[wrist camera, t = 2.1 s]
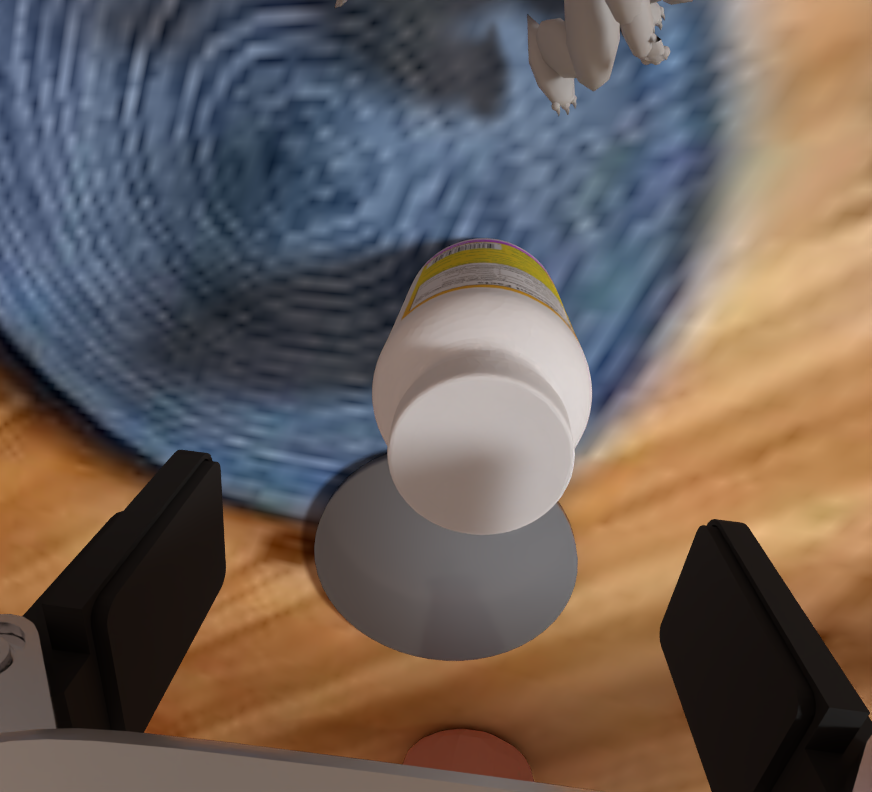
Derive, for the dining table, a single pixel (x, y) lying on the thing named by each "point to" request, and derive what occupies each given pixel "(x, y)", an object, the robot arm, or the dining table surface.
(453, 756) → the decorative flower
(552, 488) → the supplement bottle
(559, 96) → the fairy figurine
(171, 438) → the dining table surface
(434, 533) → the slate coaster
